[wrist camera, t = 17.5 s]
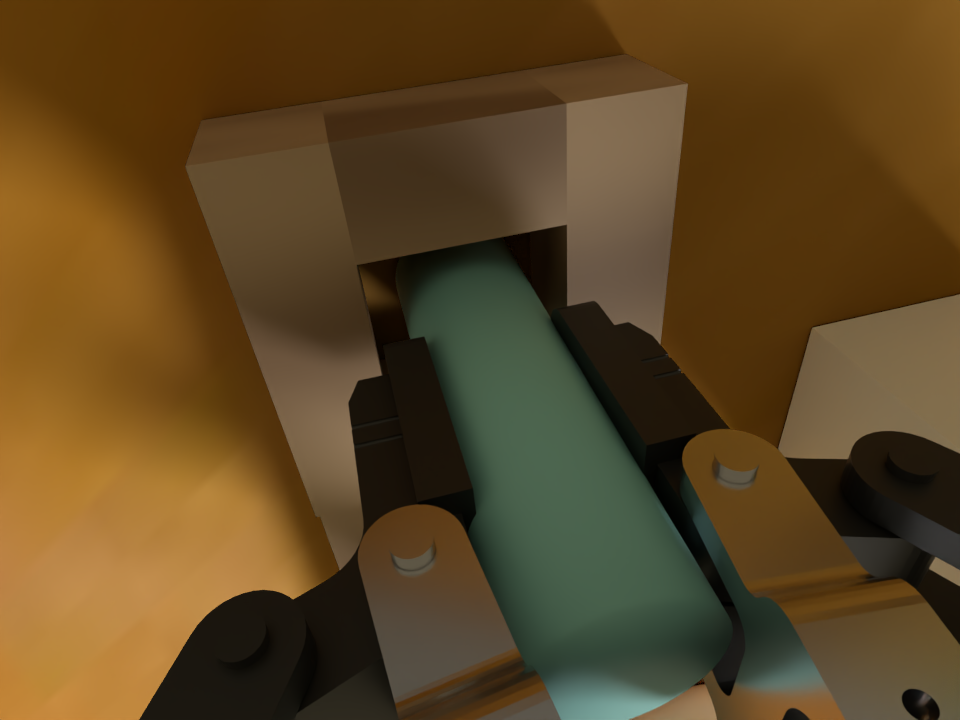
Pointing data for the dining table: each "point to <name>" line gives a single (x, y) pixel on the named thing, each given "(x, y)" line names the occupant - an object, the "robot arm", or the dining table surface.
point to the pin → (559, 497)
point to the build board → (432, 217)
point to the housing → (879, 384)
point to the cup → (684, 707)
